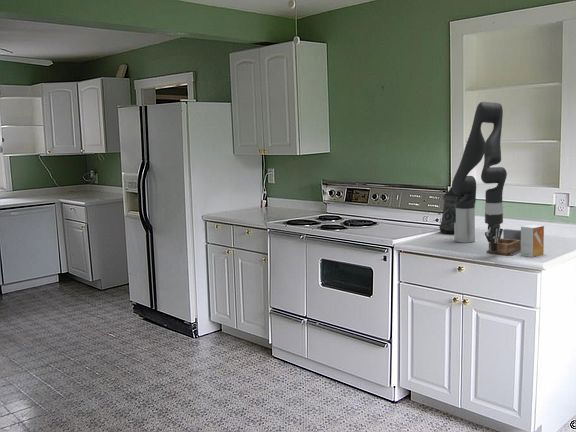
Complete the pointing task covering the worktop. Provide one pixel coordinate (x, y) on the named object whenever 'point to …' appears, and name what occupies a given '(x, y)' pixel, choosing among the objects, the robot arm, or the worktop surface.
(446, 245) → the worktop surface
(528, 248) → the small box
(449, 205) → the beer stein
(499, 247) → the socket block
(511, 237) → the backstop track
